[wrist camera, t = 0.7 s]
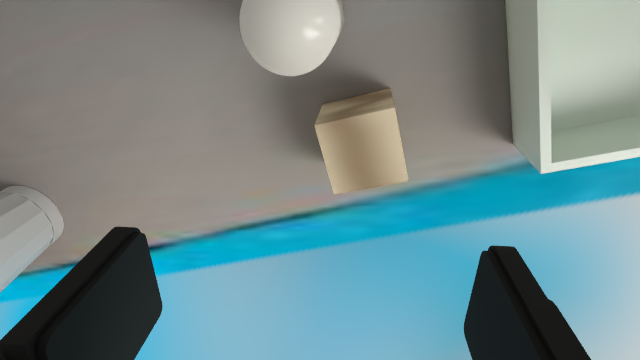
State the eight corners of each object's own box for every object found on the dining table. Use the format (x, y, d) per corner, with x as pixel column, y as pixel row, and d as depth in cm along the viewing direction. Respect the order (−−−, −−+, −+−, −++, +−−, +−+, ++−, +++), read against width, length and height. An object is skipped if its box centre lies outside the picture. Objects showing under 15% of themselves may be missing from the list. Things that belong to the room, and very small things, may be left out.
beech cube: (390, 88, 27) (394, 107, 23) (402, 151, 29) (408, 181, 25) (322, 103, 28) (314, 125, 24) (338, 164, 30) (333, 194, 26)
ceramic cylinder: (347, -23, 24) (341, -28, 18) (340, 58, 26) (333, 80, 20) (270, -28, 24) (237, -35, 18) (270, 52, 27) (240, 72, 20)
